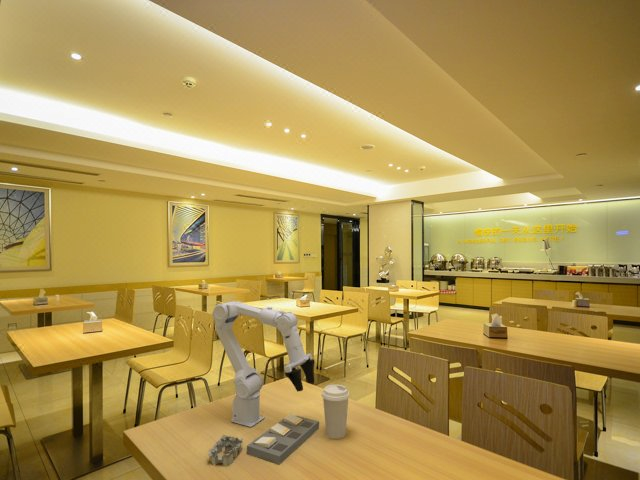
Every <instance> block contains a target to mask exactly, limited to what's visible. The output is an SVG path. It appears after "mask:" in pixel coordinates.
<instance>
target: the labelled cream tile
mask: <svg viewBox="0 0 640 480" xmlns="http://www.w3.org/2000/svg"><path fill="white" fill-rule="evenodd" d="M297 416H298V415H296V416H295V414H293V413H290V414H288V415H286V417H284V418H283V419H284V422H286V423H288V424H291V425H295V426H298V425H299V424H300V423H301V422H303V419H301V418H299V417H297Z"/></svg>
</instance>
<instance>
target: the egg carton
mask: <svg viewBox="0 0 640 480" xmlns="http://www.w3.org/2000/svg"><path fill="white" fill-rule="evenodd" d="M243 441H244V439H243V438H241V439H239V438H238V437H235V436H232V435H229V436H228V435H225V434H222V436H221V437H220V439H219V440H217V441H216V442H215V444H214V445H213V446H212V447H211V448H210V449H209V450H208V457H210V458H209V462H210V463H211V464H212V465H213V466H216V465H217V464H222V465H223V467H224V466H225V467H226V466H228V465H231V464H232V463H234V458H237V456H238V452H241V451H242V444H243ZM223 448H224V454H223V455H218V454H220V453H222V452H223Z"/></svg>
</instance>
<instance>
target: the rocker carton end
mask: <svg viewBox="0 0 640 480" xmlns="http://www.w3.org/2000/svg"><path fill="white" fill-rule="evenodd" d="M275 442H276V437H262V438H260V439H259V440H257V441H256V442H255V445H257V446H260V447H264V448H269V447H270V446H271V445H273V444H274V443H275Z"/></svg>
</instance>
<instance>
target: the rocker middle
mask: <svg viewBox="0 0 640 480" xmlns="http://www.w3.org/2000/svg"><path fill="white" fill-rule="evenodd" d="M270 428H271V429H270ZM270 428H269V429H270V432H271V433H273V434H276V435H279V436H283V437H284V436H285V435H287V434H288V433H289V432H290V429H288V428H286V427H284V426H282V425H281V424H279V422H277V423H275V425H273V426H272V427H270Z"/></svg>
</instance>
